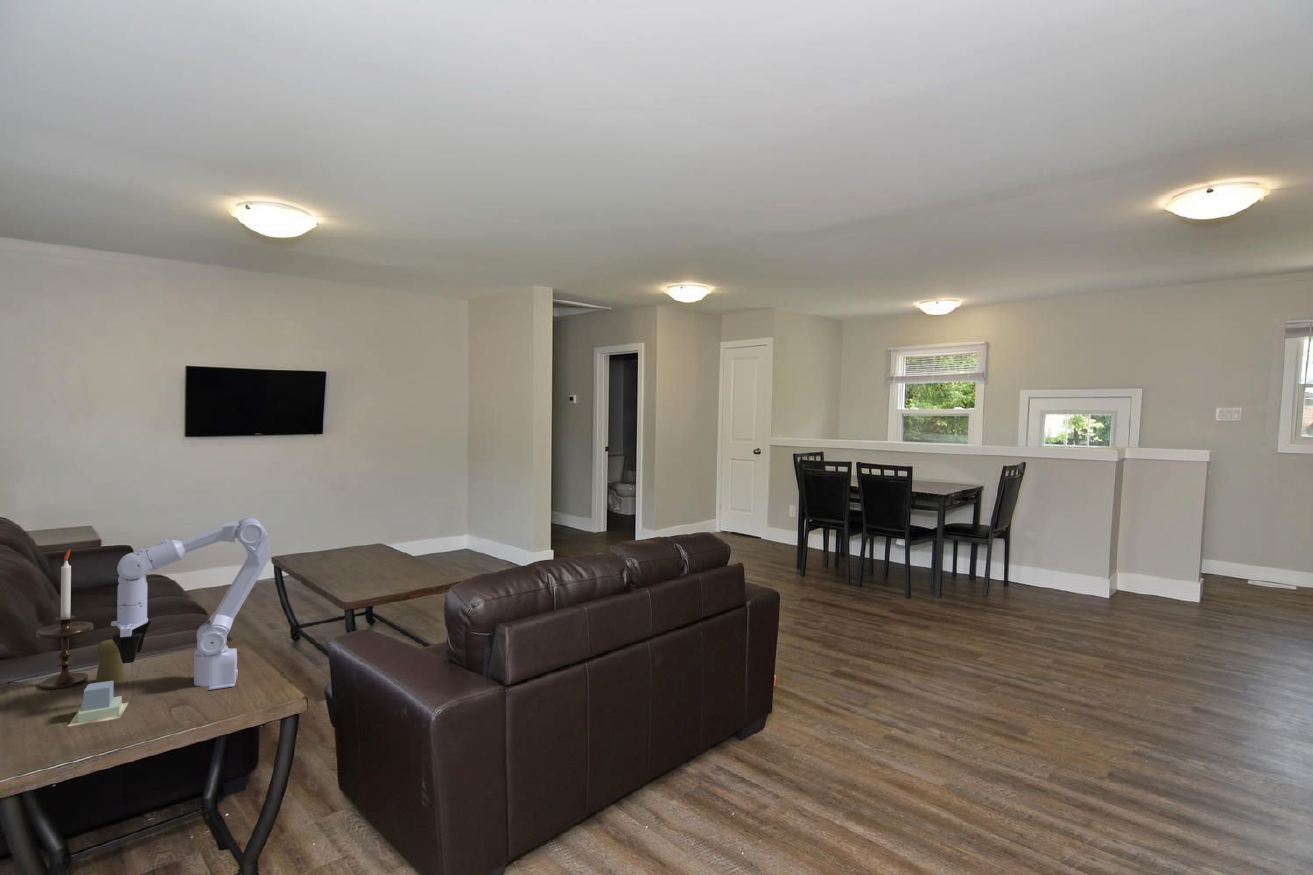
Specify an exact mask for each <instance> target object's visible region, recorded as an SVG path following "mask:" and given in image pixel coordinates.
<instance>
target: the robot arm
mask: <svg viewBox="0 0 1313 875" xmlns="http://www.w3.org/2000/svg"><path fill="white" fill-rule="evenodd" d="M236 539H237V540H238V542H239V543H240V544H241V545H242V546H243V547H244V548H245V551H246V553H247V555H248V556H247V558H246V559H245V561H244V563H243V565H242V566H241V567H240V569H239V571H238V572H237V575H236V576H235V578H234V580H233V581H232V583H231V585H230V586H229V588H228V590H227V591H226V592H225V594H224V596H223V598H222V599H221V601H220V603H219V605H218V606H217V608H216V610H215V611H214V612H213V613H212V614H210V617H209V619H208V620H206V622H204V623H203V624H202V625H200V626H199V627H198V629H197V631H196V634H195V635H196V640H197V642H196V647H197V648H196V649H195V650H194V652H193V653H194V655H193V657H194V658H193V659H194V660H193V662H194V663H193V684H194V686H196V687H208V691H210V690H212V691H213V690H218V689H225V688H230V687H235V685H236V681H237V677H238V673H239V670H238V649H237V648H236V647H235V648H233V647H232V648H229V647H228V645H227V642H228V640H227V638H228V634H229V632H230V630H231V628H232V626H233V622H234V620H235V618H236V617H237V614H238V613H239V612H240V609H241V608H242V606H243V604H244V603H245V601H246V599H247V598H248V596H249V594H250V592H251V590H252V589H253V588H254V586H255V584H256V582H257V580H258V579H259V577H260V576H261V574H262V572H263V570H264V569H265V567H266V565H267V564H268V562H269V560H270V558H271V551H270V542H269V535H268V532H267V530H266V529H265V527H264V525H263V524H262V523H261V521H260V520H259V519H257V518H256V517H250V516H249V517H244V518H241V519H240V520H238V519H237V520H232V521H230V522H227V523H224V524H221V525H219V526H216V527H213V528H211V529H208V530H206V531H203V532H200V533H198V534H196V535H194V536H191V537H189V538H186V539H184V540H177V539H169V540H168V539H167V538H164V539H162V540H160V543H158V544H155V545H153V546H150V547H146V548H143V547H141V548H139V549H137V552H129V553H127V554H125V555H123V556H122V558H120V560H119V561H118V564H117V568H116V569H117V574H118V575H119V576H118V578H117V581H118V585H117V601H116V602H117V604H116V605H117V611H116V612H117V614H116V615H117V616H116V617H117V618H116V619H117V620H113V621H111V622H110V626H111V627H115V626H116V627H117V628H118V630H119V633H118V634H113V635H112V637H111V639H112V640H113V641H114V643H115V644H116V645H117V647H118V650H119V653H120V657H121V660H122V663H123V665H124V664H132V663H134V662H135V659H136V655H137V653H141V651H142V649H143V644H144V640H145V637H146V634H147V631H148V629H149V627H150V625H151V623H152V622H151V620H149V618H148V586H149V585H148V582H147V572H148V571H155V570H158V569H161V568H163V567H166V566H169V565H171V564H174V563H177V562H179V561H181V560H183V559H184V558H185V555H186V554H187V553H190V552H192V551H195V550H198V549H201V548H204V547H208V546H210V545H213V544H216V543H219V542H228V543H236Z"/></svg>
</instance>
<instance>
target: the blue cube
mask: <svg viewBox="0 0 1313 875" xmlns="http://www.w3.org/2000/svg"><path fill="white" fill-rule="evenodd" d="M114 685H115V683H114V681H106V682H99V683H95V682H93V683H88V684H87V685H86V687H85V688H84V690H83V703H84V710H83V711H87V710H93V709H99V708H106V707H110V705H111V703H112V701H113V697H114Z"/></svg>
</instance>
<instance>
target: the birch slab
mask: <svg viewBox="0 0 1313 875" xmlns="http://www.w3.org/2000/svg"><path fill="white" fill-rule="evenodd" d="M128 705H129V702H124V703H123V702H122V705H121V709H120V713H119V716H113V717H108V718H103V719H98V720H92V721H87V722H82V723H78V714H79V711H80V709H79V710H77V712H76V714H75V715H74V717H73V718H72V719H71V720H70V722H69V724H67V727H75V726H79V725H87V724H94V723H99V722H106V721H111V720H112V721H113V720H118V719H121V717H122V715H123V713H124V711H125V709H126V708H127V706H128Z"/></svg>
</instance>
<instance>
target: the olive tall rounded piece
mask: <svg viewBox="0 0 1313 875" xmlns="http://www.w3.org/2000/svg"><path fill="white" fill-rule="evenodd" d="M97 653H98V654H99V661H98V666H97V672H96V677H95V678H96V679H95V682H94V683H99V682H106V681H114V684H120V683H123V682H124V681H125V680H126V676H125V669H124V664H123V663H122V660H121V657H120V653H119V650H118V647H117V645H116V644H115V643H114V641H113V640H112V638H111V639H107V640H103V641H102V642H99V644H98V646H97Z"/></svg>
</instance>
